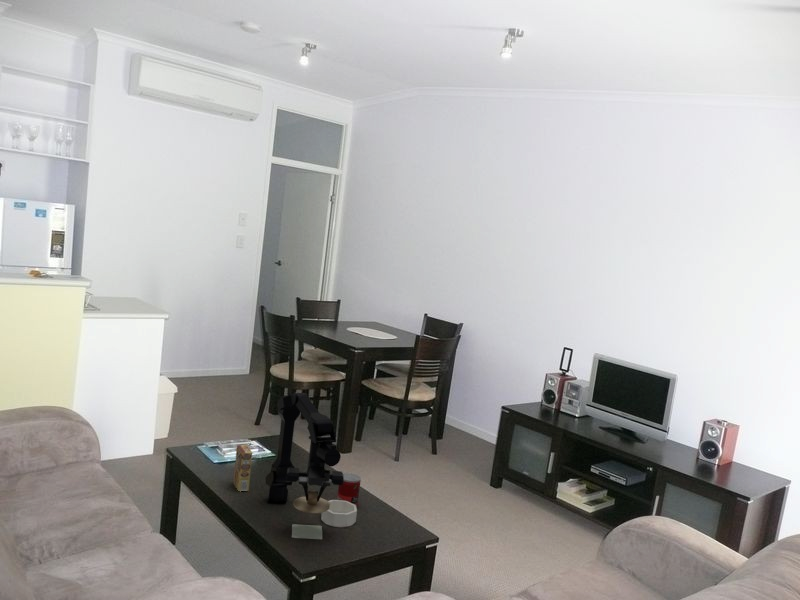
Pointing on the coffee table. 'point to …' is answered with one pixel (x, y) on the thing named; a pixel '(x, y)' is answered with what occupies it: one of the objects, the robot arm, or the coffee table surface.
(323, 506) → the lid
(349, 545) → the coffee table surface
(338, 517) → the bowl
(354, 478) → the canned food
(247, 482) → the candy box
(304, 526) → the mat
